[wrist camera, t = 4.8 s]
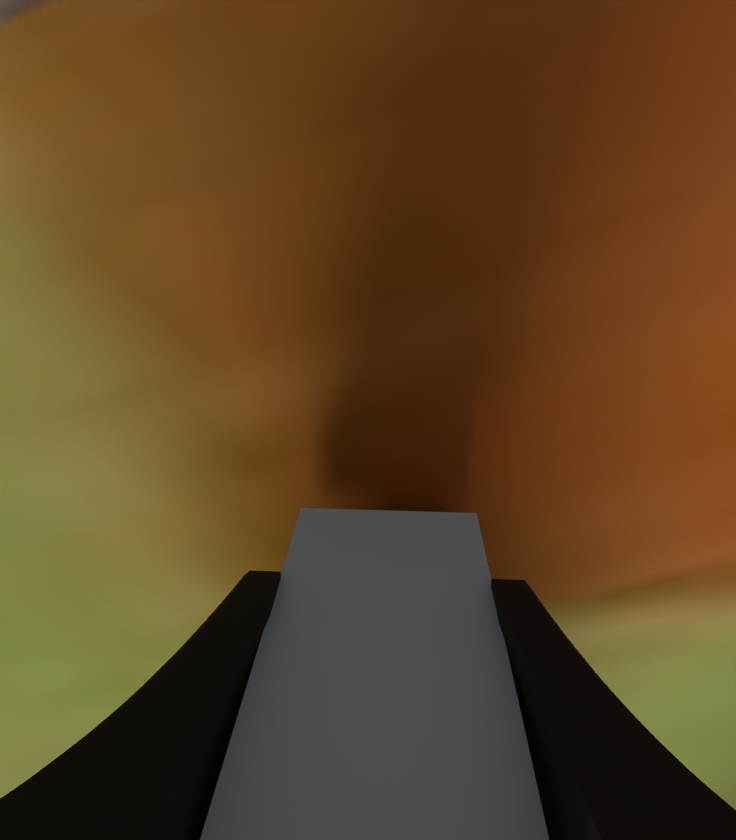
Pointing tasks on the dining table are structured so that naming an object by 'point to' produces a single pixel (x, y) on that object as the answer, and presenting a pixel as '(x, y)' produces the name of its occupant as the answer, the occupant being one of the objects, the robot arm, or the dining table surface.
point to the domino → (380, 693)
